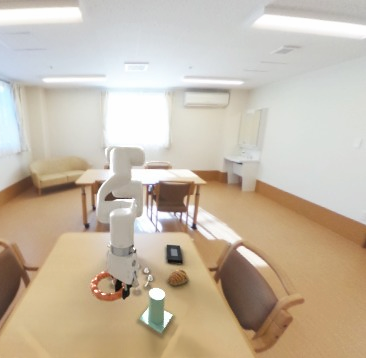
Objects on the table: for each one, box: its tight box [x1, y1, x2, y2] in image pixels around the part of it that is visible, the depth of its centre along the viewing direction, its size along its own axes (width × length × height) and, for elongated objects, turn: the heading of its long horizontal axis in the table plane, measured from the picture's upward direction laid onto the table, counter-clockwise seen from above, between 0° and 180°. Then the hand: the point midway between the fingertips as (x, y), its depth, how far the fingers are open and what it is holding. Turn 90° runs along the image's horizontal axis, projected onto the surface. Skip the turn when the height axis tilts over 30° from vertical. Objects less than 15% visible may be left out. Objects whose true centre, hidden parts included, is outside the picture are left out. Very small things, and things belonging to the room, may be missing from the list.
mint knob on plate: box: [138, 287, 173, 334], centre depth 75 cm, size 9×9×11 cm
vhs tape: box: [166, 244, 184, 265], centre depth 115 cm, size 8×14×2 cm, turn 172°
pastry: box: [168, 268, 189, 287], centre depth 95 cm, size 9×7×4 cm
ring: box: [89, 270, 124, 303], centre depth 75 cm, size 14×14×2 cm
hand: (122, 294), depth 72 cm, fingers closed on ring, 2 cm apart
